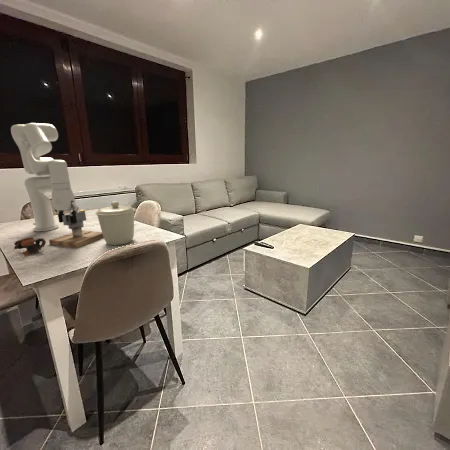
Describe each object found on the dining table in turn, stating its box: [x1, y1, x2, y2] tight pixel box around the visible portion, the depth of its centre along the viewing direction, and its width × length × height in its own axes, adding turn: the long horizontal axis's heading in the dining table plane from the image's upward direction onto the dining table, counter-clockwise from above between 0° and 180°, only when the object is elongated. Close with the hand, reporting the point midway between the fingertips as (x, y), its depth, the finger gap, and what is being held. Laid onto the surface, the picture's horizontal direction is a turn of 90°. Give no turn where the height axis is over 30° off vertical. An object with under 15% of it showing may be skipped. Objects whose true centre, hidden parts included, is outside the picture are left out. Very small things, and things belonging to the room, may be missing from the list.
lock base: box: [48, 227, 104, 249], centre depth 130 cm, size 18×18×7 cm
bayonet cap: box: [62, 209, 87, 230], centre depth 128 cm, size 11×7×8 cm, turn 159°
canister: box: [95, 200, 136, 246], centre depth 124 cm, size 18×18×21 cm
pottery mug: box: [13, 236, 47, 257], centre depth 115 cm, size 12×10×8 cm
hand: (68, 222), depth 124 cm, fingers open, 6 cm apart
